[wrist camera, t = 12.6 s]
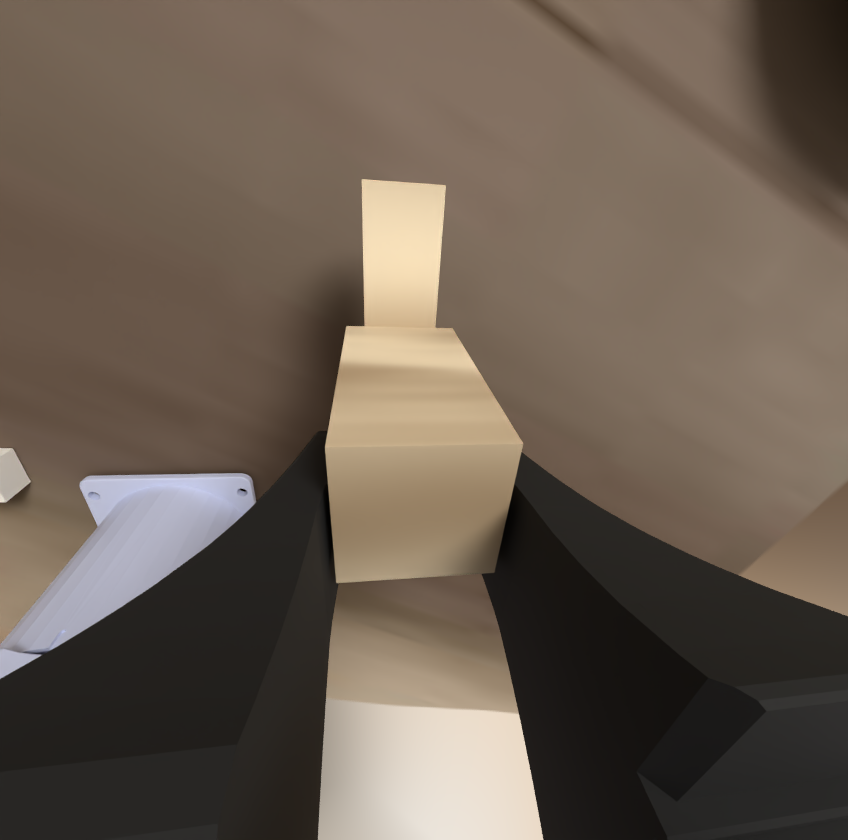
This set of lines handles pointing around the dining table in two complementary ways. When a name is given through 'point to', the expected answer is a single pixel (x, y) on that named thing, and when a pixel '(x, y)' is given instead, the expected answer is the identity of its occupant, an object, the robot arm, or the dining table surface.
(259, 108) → the dining table surface
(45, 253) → the dining table surface
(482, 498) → the beige stepped block
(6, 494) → the frame
